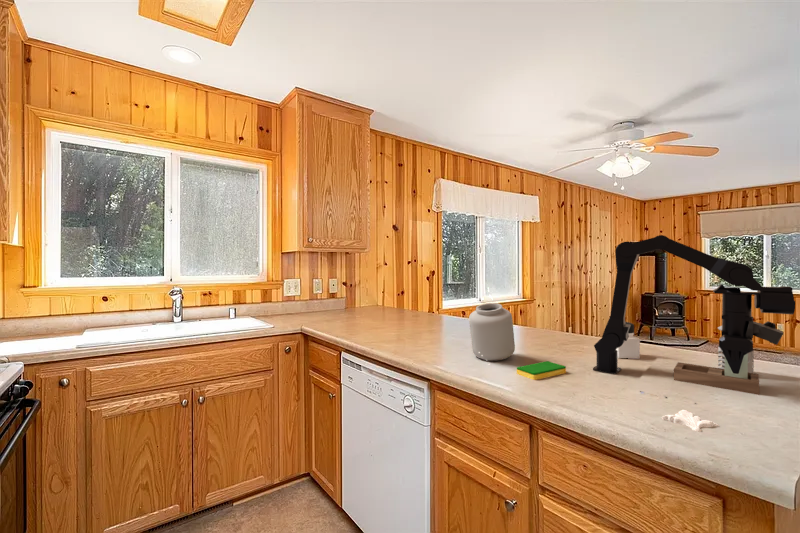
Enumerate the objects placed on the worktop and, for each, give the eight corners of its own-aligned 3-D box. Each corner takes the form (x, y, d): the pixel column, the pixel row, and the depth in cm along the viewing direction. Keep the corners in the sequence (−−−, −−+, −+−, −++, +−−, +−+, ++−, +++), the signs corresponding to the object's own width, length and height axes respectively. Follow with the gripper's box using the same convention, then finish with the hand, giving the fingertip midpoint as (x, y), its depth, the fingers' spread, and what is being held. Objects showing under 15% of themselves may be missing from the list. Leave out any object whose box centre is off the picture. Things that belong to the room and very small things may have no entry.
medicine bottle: (629, 353, 135) (629, 320, 135) (640, 359, 128) (640, 324, 128) (608, 353, 136) (608, 320, 136) (618, 358, 129) (618, 324, 128)
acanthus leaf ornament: (661, 422, 81) (661, 413, 81) (678, 415, 84) (678, 407, 84) (702, 436, 74) (702, 427, 74) (719, 428, 77) (719, 419, 77)
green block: (747, 390, 95) (747, 351, 94) (724, 386, 98) (724, 348, 97) (747, 385, 98) (747, 347, 98) (725, 382, 101) (725, 345, 101)
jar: (499, 368, 119) (498, 289, 118) (458, 360, 128) (458, 287, 128) (521, 356, 134) (521, 286, 133) (483, 349, 143) (483, 284, 142)
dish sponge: (515, 374, 114) (515, 367, 113) (547, 368, 120) (547, 360, 120) (534, 381, 107) (534, 373, 107) (566, 374, 114) (566, 366, 114)
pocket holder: (759, 398, 92) (759, 382, 91) (673, 383, 103) (673, 369, 103) (758, 389, 98) (758, 374, 98) (678, 375, 110) (678, 362, 110)
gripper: (783, 319, 85) (782, 387, 85) (778, 310, 99) (777, 368, 99) (719, 314, 93) (718, 376, 93) (722, 306, 106) (722, 361, 107)
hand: (735, 370), depth 98 cm, fingers open, 6 cm apart
